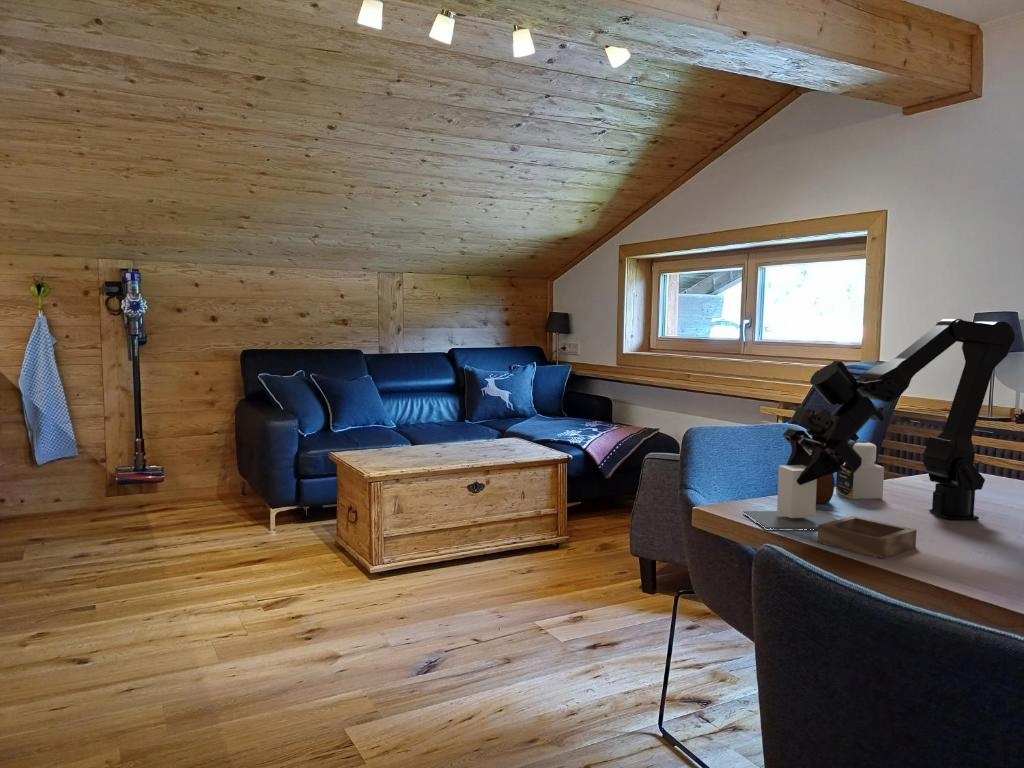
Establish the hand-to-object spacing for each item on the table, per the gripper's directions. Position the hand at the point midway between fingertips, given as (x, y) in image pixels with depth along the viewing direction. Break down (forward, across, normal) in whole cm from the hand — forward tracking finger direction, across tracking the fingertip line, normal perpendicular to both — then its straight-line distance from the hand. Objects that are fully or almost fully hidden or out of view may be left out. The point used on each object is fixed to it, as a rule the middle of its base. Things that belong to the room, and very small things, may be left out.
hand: (790, 480), depth 147 cm
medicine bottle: (-14, -19, +26) cm, 35 cm away
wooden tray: (+2, +16, +10) cm, 18 cm away
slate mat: (+5, 0, +7) cm, 8 cm away
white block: (+4, 0, +6) cm, 7 cm away
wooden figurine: (-5, -14, +17) cm, 22 cm away
